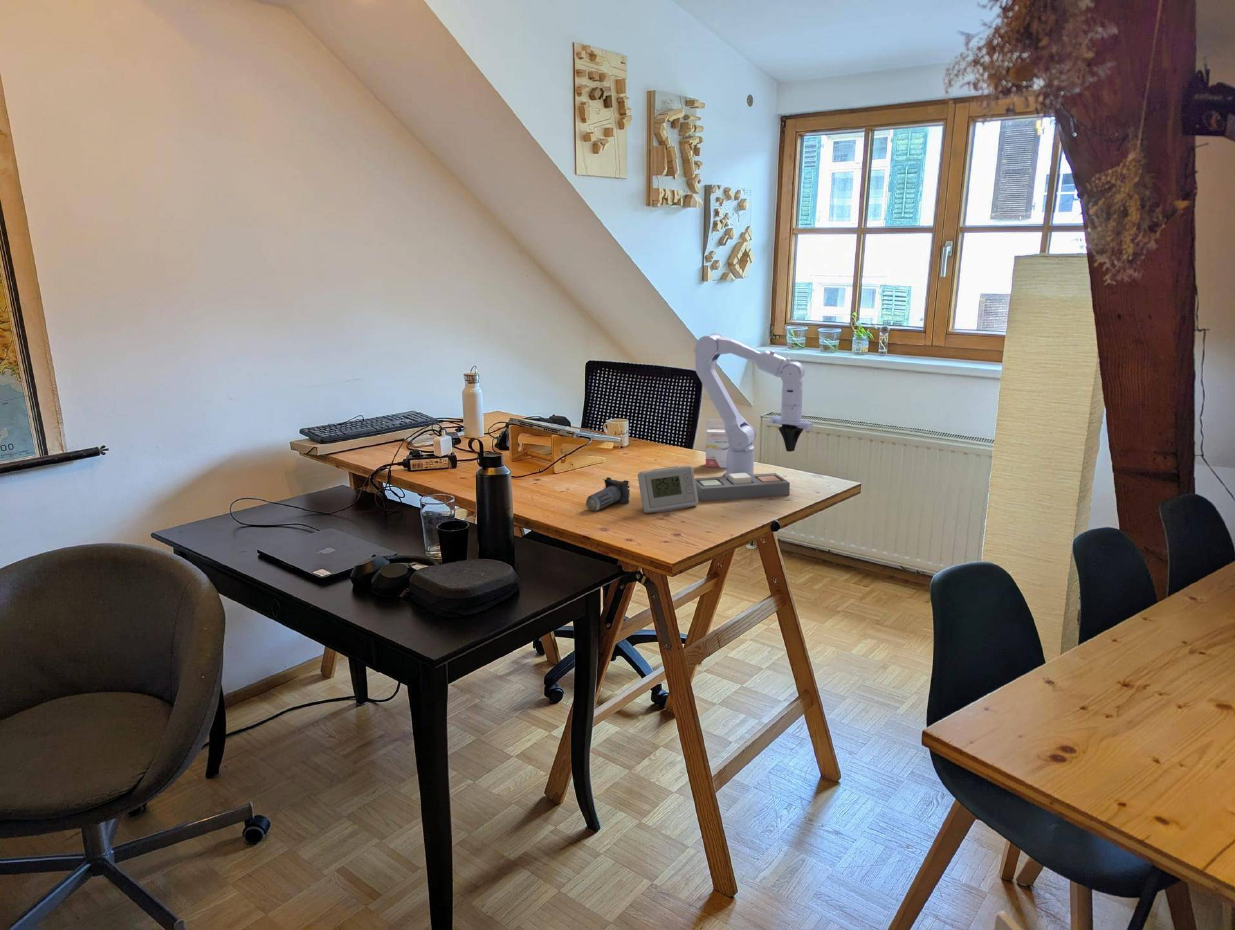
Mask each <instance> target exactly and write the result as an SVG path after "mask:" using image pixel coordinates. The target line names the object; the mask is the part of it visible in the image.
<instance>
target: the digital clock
mask: <svg viewBox="0 0 1235 930" xmlns="http://www.w3.org/2000/svg"><path fill="white" fill-rule="evenodd" d="M695 478H696V477H695V472H694V468H693V466H692V465H683V466H670V467H661V468H655V469H651V470H643V471H639V472H638V474H637V480H638V486H639V492H640V497H641V505H642V509H643V512H644V513H645V514H652V513H657V514H659V513H663V512H664V513H665V512H670V511H676V510H677V511H678V510H684V509H687V508H691V507H697V506H698V505H699V498H698V496H697V490H696V484H695Z"/></svg>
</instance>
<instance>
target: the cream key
mask: <svg viewBox="0 0 1235 930" xmlns="http://www.w3.org/2000/svg"><path fill="white" fill-rule="evenodd" d="M728 480H729V481H730V482H731V483H733V484H745V483H751V476H749V475H748V474H747V473H734V474H729V478H728Z"/></svg>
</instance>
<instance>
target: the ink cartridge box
mask: <svg viewBox="0 0 1235 930" xmlns="http://www.w3.org/2000/svg"><path fill="white" fill-rule="evenodd" d="M719 423H721V424H719ZM729 449H730V446H729V444H728V437H727V434H726V432H725V424H724V422H723V420H722V419H720V418H719V419H707V420H706V429H705V467H706V468H726V467H727V452H728V450H729Z"/></svg>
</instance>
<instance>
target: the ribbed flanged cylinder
mask: <svg viewBox="0 0 1235 930" xmlns="http://www.w3.org/2000/svg"><path fill="white" fill-rule="evenodd" d="M602 481H604V487H603V489H601V490H599V491H597V492H595V493H593V494H590V495H589V496H588V497H587V499H586V502H585V506H586V508H587V509H588V510H589V511H591V512H598V511H600V510H602V509H604V508H606V507H608V506H610V505H612V504H615V503H621V502H622V504H625V505H627V504H629V503H630V496H631V495H630V494H631V492H630V488H631V487H630V485H629V483H630V481H629V480H626V479H625V480H623V481H620V480H616V479H612V478H611V477H606V478H603V479H602ZM616 501H617V502H616ZM597 510H598V511H597Z"/></svg>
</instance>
